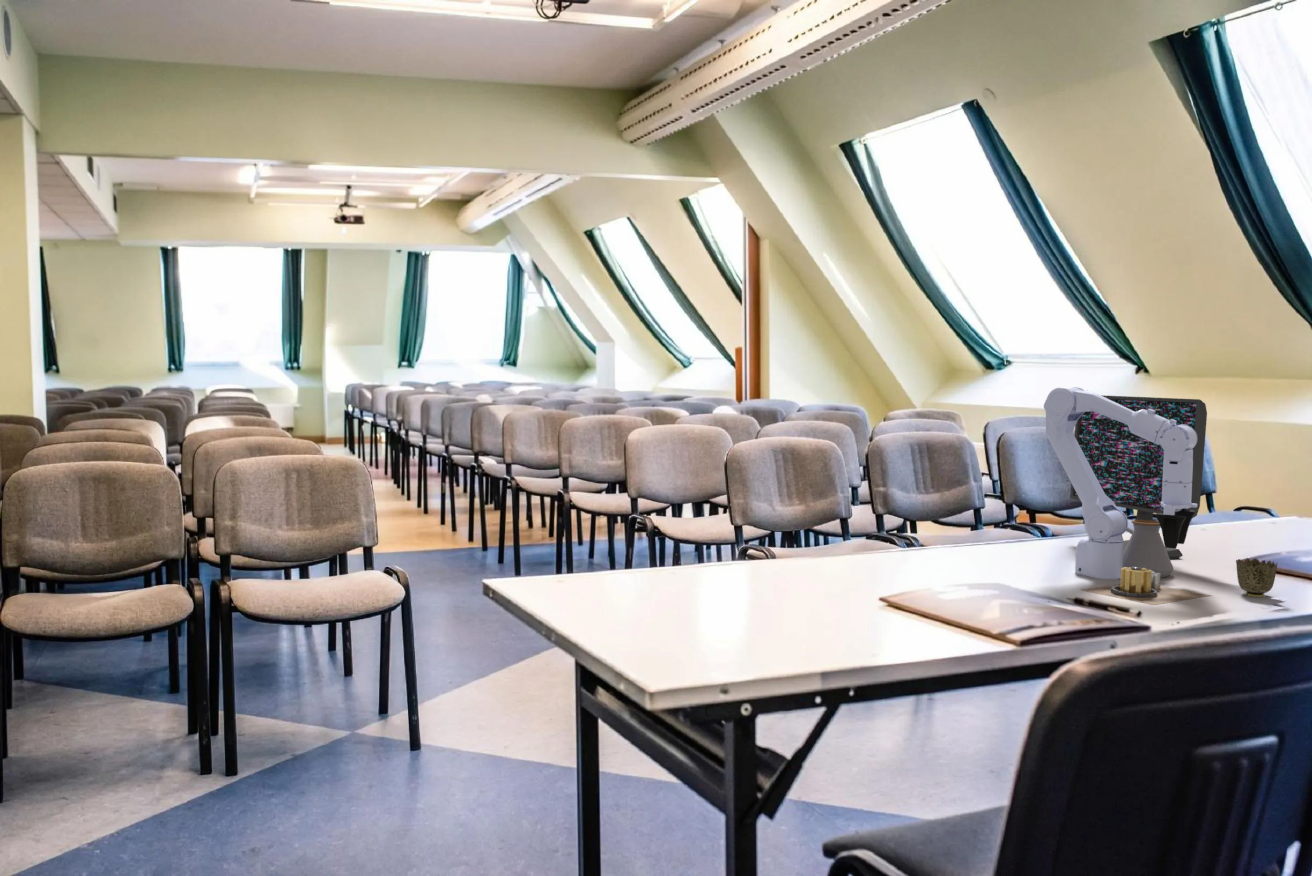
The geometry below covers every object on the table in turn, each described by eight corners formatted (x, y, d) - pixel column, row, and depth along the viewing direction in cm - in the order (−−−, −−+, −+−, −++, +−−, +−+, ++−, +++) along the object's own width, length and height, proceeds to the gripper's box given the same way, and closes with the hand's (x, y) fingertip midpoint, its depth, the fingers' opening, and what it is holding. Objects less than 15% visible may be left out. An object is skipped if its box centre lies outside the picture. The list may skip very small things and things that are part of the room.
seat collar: (1102, 591, 233) (1102, 587, 233) (1128, 587, 237) (1128, 584, 237) (1139, 599, 225) (1139, 595, 225) (1165, 595, 230) (1166, 591, 230)
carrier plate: (1079, 594, 235) (1079, 589, 235) (1137, 586, 245) (1137, 581, 245) (1153, 609, 220) (1153, 604, 220) (1211, 600, 230) (1211, 595, 230)
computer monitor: (1049, 542, 306) (1054, 394, 303) (1099, 540, 311) (1104, 394, 308) (1167, 570, 264) (1174, 399, 262) (1223, 567, 269) (1230, 399, 267)
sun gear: (1115, 585, 240) (1116, 568, 240) (1136, 582, 244) (1137, 565, 244) (1145, 591, 234) (1146, 573, 234) (1167, 587, 238) (1167, 570, 238)
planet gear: (1114, 592, 232) (1115, 566, 232) (1131, 589, 235) (1132, 564, 235) (1139, 597, 227) (1140, 570, 227) (1156, 594, 230) (1157, 568, 230)
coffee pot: (1183, 580, 252) (1186, 513, 251) (1152, 585, 246) (1155, 516, 245) (1100, 565, 270) (1102, 503, 269) (1069, 569, 264) (1071, 505, 263)
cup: (1253, 604, 227) (1255, 564, 226) (1226, 597, 234) (1227, 558, 233) (1284, 602, 229) (1286, 563, 228) (1255, 595, 236) (1257, 557, 235)
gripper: (1190, 485, 232) (1187, 551, 233) (1204, 480, 244) (1201, 543, 244) (1153, 483, 236) (1151, 548, 237) (1169, 478, 248) (1166, 540, 249)
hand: (1174, 545), depth 241 cm, fingers open, 7 cm apart
